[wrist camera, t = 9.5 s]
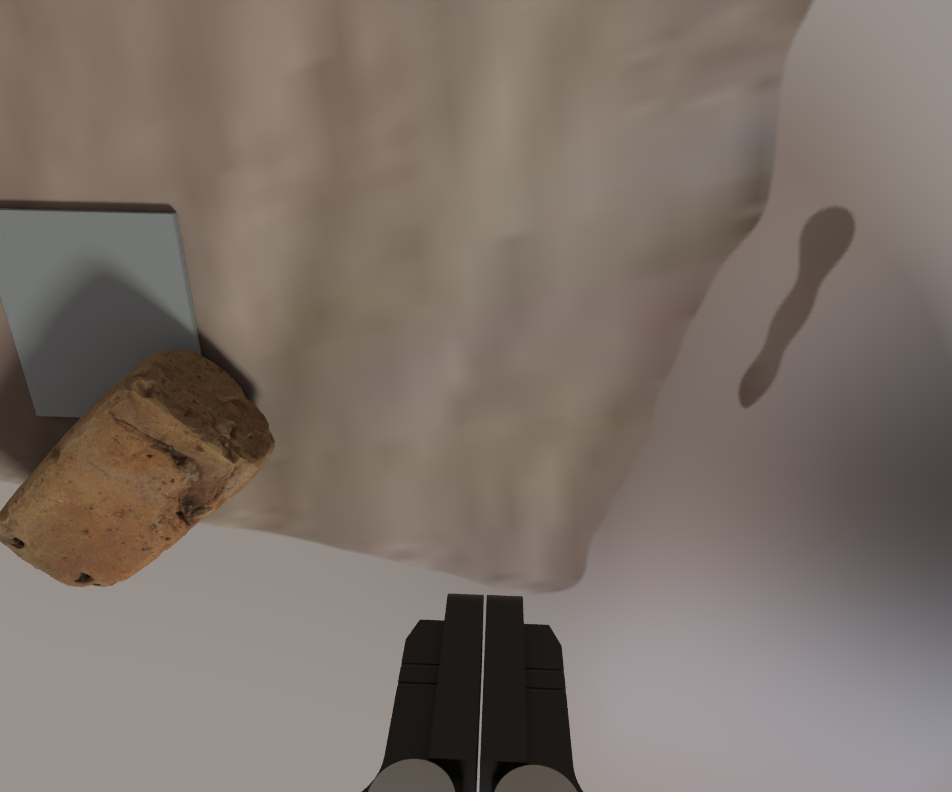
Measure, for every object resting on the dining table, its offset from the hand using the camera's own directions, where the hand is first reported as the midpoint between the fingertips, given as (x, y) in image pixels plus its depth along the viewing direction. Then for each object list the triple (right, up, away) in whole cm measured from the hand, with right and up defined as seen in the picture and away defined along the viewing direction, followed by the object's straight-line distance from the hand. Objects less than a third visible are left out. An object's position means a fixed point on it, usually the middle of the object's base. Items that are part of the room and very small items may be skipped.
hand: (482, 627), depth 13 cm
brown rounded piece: (-17, +4, +30) cm, 35 cm away
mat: (-26, +10, +33) cm, 43 cm away
